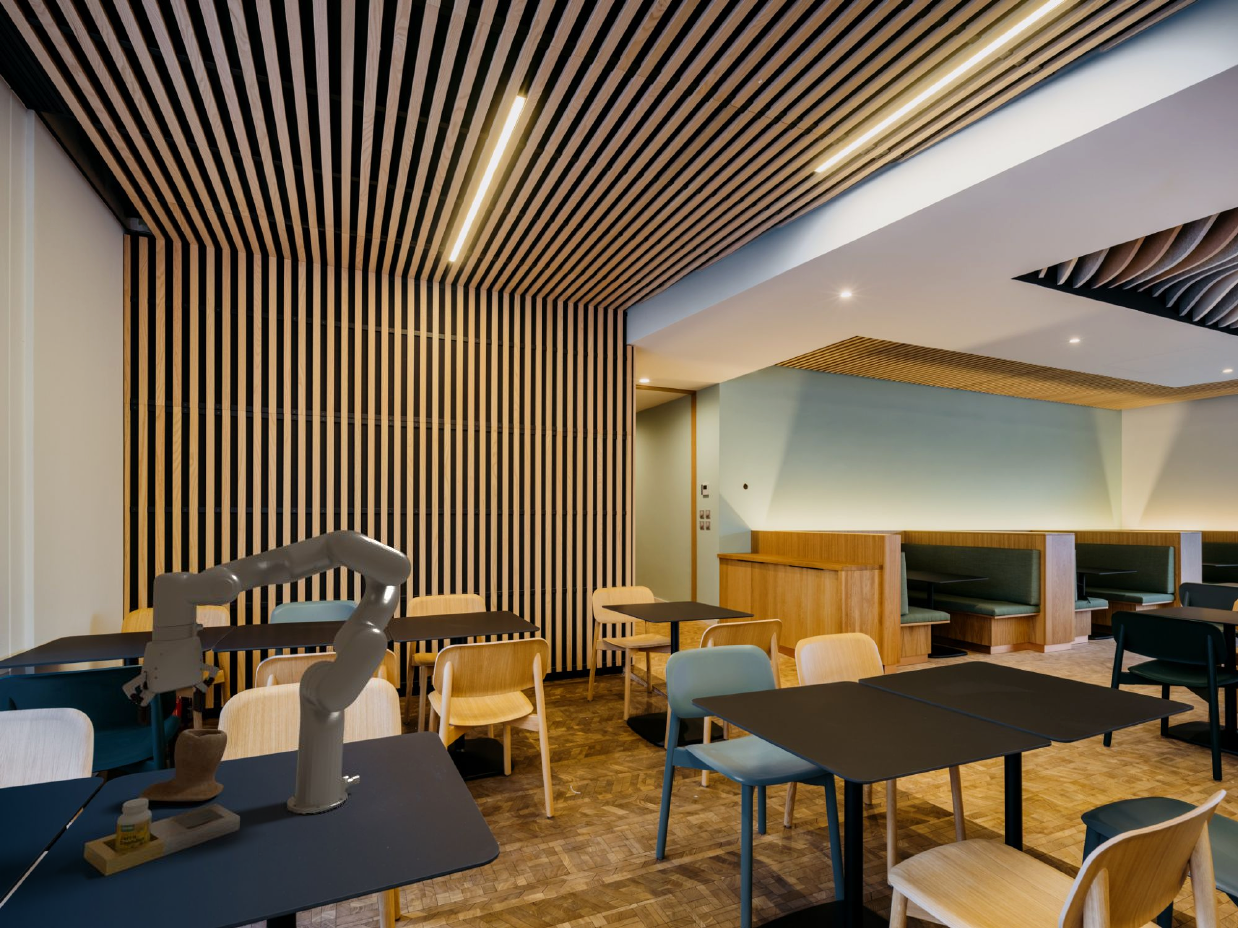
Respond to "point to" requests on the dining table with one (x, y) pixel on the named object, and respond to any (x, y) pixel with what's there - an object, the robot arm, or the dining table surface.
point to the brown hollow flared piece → (192, 768)
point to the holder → (163, 838)
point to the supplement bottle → (133, 825)
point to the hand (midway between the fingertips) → (172, 717)
